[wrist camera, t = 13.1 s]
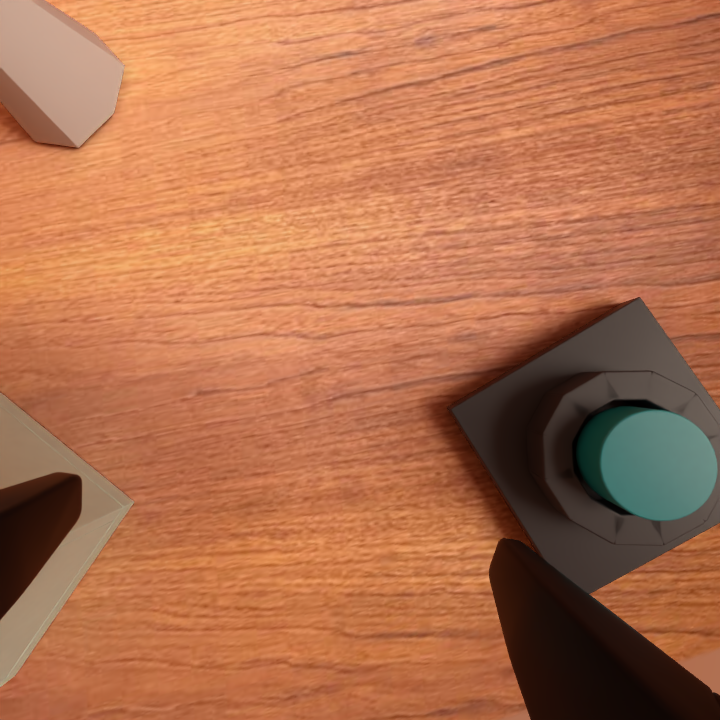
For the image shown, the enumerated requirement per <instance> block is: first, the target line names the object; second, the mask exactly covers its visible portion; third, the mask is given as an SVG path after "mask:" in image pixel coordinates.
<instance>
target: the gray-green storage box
mask: <svg viewBox="0 0 720 720" xmlns="http://www.w3.org/2000/svg"><path fill="white" fill-rule="evenodd" d="M55 472H65V473H71V474H77V475H79V476H80V477H81V479H82V511H81V514H80V517H79V519H78V521H77V522H76V524H75V525H74V526H73V528H72V529H71V530H70V532H69V533H68V534H67V536H66V537H65V538H64V540H63V541H62V542H61V544H60V545H59V547H58V548H57V549H56V551H55V552H54V553H53V555H52V556H51V557H50V559H49V560H48V561H47V563H46V564H45V565H44V567H43V568H42V569H41V571H40V572H39V573H38V575H37V576H36V577H35V579H34V580H33V581H32V583H31V584H30V585H29V586H28V588H27V589H26V590H25V592H24V593H23V594H22V595H21V597H20V598H19V599H18V600H17V601H16V603H15V604H14V605H13V606H12V607H11V608H10V610H9V611H8V612H7V613H6V614H5V615H4V617H3V618H2V619H1V620H0V687H1V686H3V685H4V684H5V683H6V682H8V681H9V680H10V679H12V678H13V677H14V676H15V675H16V674H17V672H18V671H19V670H20V668H21V667H22V665H23V664H24V662H25V661H26V659H27V658H28V656H29V655H30V654H31V652H32V651H33V649H34V648H35V646H36V645H37V643H38V642H39V640H40V639H41V638H42V636H43V635H44V633H45V632H46V630H47V629H48V627H49V626H50V624H51V623H52V621H53V620H54V619H55V617H56V616H57V614H58V613H59V611H60V610H61V608H62V607H63V605H64V604H65V603H66V601H67V600H68V598H69V597H70V595H71V594H72V592H73V591H74V589H75V588H76V586H77V585H78V584H79V582H80V581H81V579H82V578H83V576H84V575H85V573H86V572H87V570H88V569H89V568H90V566H91V565H92V563H93V562H94V560H95V559H96V557H97V556H98V554H99V553H100V552H101V550H102V549H103V547H104V546H105V544H106V543H107V541H108V540H109V538H110V537H111V535H112V534H113V533H114V531H115V530H116V528H117V527H118V525H119V524H120V522H121V521H122V519H123V518H124V517H125V515H126V514H127V512H128V511H129V509H130V508H131V506H132V505H133V503H134V501H133V500H132V499H131V498H129V497H128V496H127V495H126V494H124V493H123V492H122V491H121V490H120V489H118V488H117V487H116V486H115V485H113V484H112V483H111V482H110V481H109V480H107V479H106V478H105V477H104V476H102V475H101V474H100V473H99V472H98V471H96V470H95V469H94V468H93V467H91V466H90V465H89V464H88V463H87V462H85V461H84V460H83V459H82V458H80V457H79V456H78V455H77V454H76V453H74V452H73V451H72V450H71V449H69V448H68V447H67V446H66V445H65V444H63V443H62V442H61V441H60V440H58V439H57V438H56V437H55V436H54V435H52V434H51V433H50V432H49V431H47V430H46V429H45V428H44V427H43V426H41V425H40V424H39V423H38V422H36V421H35V420H34V419H33V418H32V417H30V416H29V415H28V414H27V413H25V412H24V411H23V410H22V409H21V408H19V407H18V406H17V405H16V404H14V403H13V402H12V401H11V400H10V399H8V398H7V397H6V396H5V395H3V394H2V393H1V392H0V489H3V488H6V487H9V486H13V485H16V484H19V483H22V482H26V481H29V480H32V479H35V478H38V477H42V476H45V475H48V474H51V473H55Z"/></svg>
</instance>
